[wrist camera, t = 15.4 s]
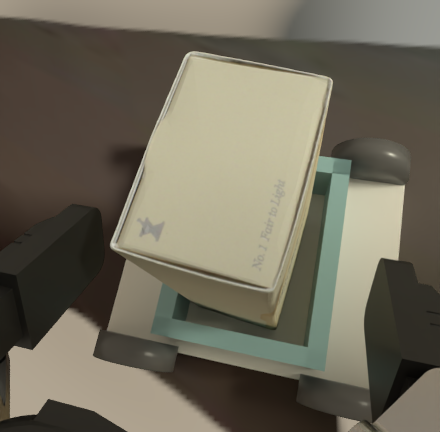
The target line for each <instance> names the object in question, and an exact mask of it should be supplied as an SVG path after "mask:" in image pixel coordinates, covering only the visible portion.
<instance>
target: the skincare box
mask: <svg viewBox="0 0 440 432" xmlns="http://www.w3.org/2000/svg"><path fill="white" fill-rule="evenodd" d="M332 84H333V82H332V79H331V78H329V77H326V76H321V75H316V74H312V73H306V72H301V71H296V70H292V69H287V68H281V67H277V66H272V65H266V64H262V63H255V62H251V61H246V60H241V59H235V58H229V57H223V56H218V55H213V54H208V53H202V52H195V51H193V52H189V53H188V54H186V55H185V57H184V59H183V62H182V64H181V66H180V69H179V71H178V74H177V76H176V78H175V81H174V83H173V85H172V87H171V90H170V93H169V95H168V97H167V100H166V102H165V104H164V107H163V109H162V112H161V114H160V117H159V119H158V121H157V124H156V126H155V128H154V131H153V133H152V135H151V138H150V140H149V143H148V146H147V148H146V151H145V154H144V156H143V159H142V162H141V164H140V167H139V169H138V172H137V174H136V177H135V180H134V183H133V185H132V188H131V190H130V193H129V196H128V198H127V201H126V203H125V206H124V209H123V212H122V214H121V216H120V219H119V222H118V225H117V228H116V230H115V232H114V235H113V237H112V240H111V243H110V248H111V249H112V250H113V251H115V252H117V253H118V254H120V255H121V256H123V257H124V258H126V259H127V260H129V261H131V262H132V263H134V264H135V265H137V266H138V267H140V268H141V269H143V270H144V271H146V272H147V273H149V274H150V275H152V276H153V277H155V278H156V279H158V280H159V281H161V282H162V283H164V284H165V285H167V286H169V287H170V288H172V289H173V290H175V291H176V292H178V293H179V294H181V295H182V296H184V297H185V298H187V299H188V300H190V301H191V302H193V303H194V304H196V305H197V306H199V307H202V308H205V309H207V310H210V311H213V312H216V313H219V314H222V315H225V316H228V317H231V318H234V319H237V320H240V321H243V322H247V323H250V324H253V325H257V326H260V327H264V328H267V329H271V330H276V328H277V325H278V322H279V318H280V315H281V312H282V308H283V305H284V301H285V298H286V295H287V291H288V288H289V284H290V281H291V277H292V274H293V270H294V266H295V263H296V259H297V255H298V251H299V248H300V244H301V240H302V236H303V232H304V229H305V225H306V220H307V216H308V211H309V206H310V201H311V196H312V190H313V185H314V180H315V174H316V169H317V164H318V159H319V153H320V148H321V143H322V137H323V132H324V126H325V121H326V116H327V110H328V105H329V100H330V95H331V90H332Z"/></svg>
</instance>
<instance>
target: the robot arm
mask: <svg viewBox="0 0 440 432" xmlns="http://www.w3.org/2000/svg"><path fill="white" fill-rule="evenodd" d="M103 261H104V241H103V230H102V219H101V213H100V211H99V209H97V208H94V207H88V206H82V205H76V204H72V205H70V206H68V207H67V208H66V209H65V210H63V211H62V212H61V213H60V214H58V215H57V216H56V217H52V218H50V219H47V220H45V221H42V222H40V223H38V224H36V225H34V226H33V227H32V228H30V229H29V230H28V231H26V232H25V233H24V235H21V236H20V237H19V238H17V239H16V240H15V241H14V243H11V244H9V245H8V246H7V247H5V248H4V249H3V250H2V251H0V432H127V431H125V430H124V429H122V428H120V427H119V426H117V425H115V424H114V423H112V422H110V421H109V420H107V419H106V418H104V417H102V416H100V415H99V414H97V413H96V412H94V411H91V410H87V409H84V408H80V407H76V406H72V405H69V404H65V403H61V402H57V401H54V400H50V399H48V400H47V402H46V403H45V405H44V406H43V407H42V409H41V410H40V411H39V413H38V414H37V415H27V416H19V417H14V418H10V359H9V355H8V351H10V349H11V348H12V347H13V346H18V347H22V348H27V349H31V350H33V349H34V347H35V346H36V345H37V344H38V343H39V342H40V340H41V339H42V338H43V337H44V336H45V335H46V333H47V332H48V331H49V330H50V329H51V328H52V326H53V325H54V324H55V323H56V322H57V321H58V319H59V318H60V317H61V316H62V315H63V314H64V312H65V311H66V310H67V309H68V308H69V307H70V305H71V304H72V303H73V302H74V301H75V300H76V298H77V297H78V296H79V295H80V294H81V293H82V291H83V290H84V289H85V288H86V287H87V286H88V284H89V283H90V282H91V281H92V280H93V279H94V277H95V276H96V275H97V274H98V273H99V271H100V269H101V267H102V265H103ZM364 334H365V345H366V357H367V368H368V379H369V390H370V402H371V413H372V424H371V423H369V422H368V421H367V420H362V421H360V422H359V423H357V424H356V425H355V426H354V427H353V428H352V429H351V430H350V431H348V432H440V295H439V294H438V293H437V292H436V291H435V289H434V288H433V287H432V286H430V285H424V284H419V283H418V281H417V278H416V274H415V271H414V267H413V264H412V263H410V262H404V261H398V260H392V259H386V258H381V259H380V260H379V263H378V265H377V269H376V272H375V276H374V279H373V283H372V286H371V290H370V293H369V297H368V300H367V304H366V308H365V315H364Z"/></svg>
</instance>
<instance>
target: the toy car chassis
mask: <svg viewBox="0 0 440 432" xmlns="http://www.w3.org/2000/svg"><path fill="white" fill-rule="evenodd" d="M410 162H411V154H410V152H409V150H408V149H407V148H405V147H404V146H402V145H401V144H399V143H396V142H393V141H390V140H385V139H379V138H357V139H351V140H347V141H344V142H342V143H340V144H338V145H337V146H335V147H334V149H333V150H332V155H331V158H330V157H323V156H319V159H318V164H317V169H316V174H315V180H314V185H313V190H312V196H311V201H310V206H309V211H308V216H307V220H306V225H305V229H304V232H303V236H302V240H301V244H300V248H299V251H298V255H297V259H296V263H295V266H294V270H293V274H292V277H291V281H290V284H289V288H288V291H287V295H286V298H285V301H284V305H283V308H282V312H281V315H280V318H279V322H278V325H277V328H276V330H271V329H267V328H264V327H260V326H257V325H253V324H250V323H247V322H243V321H240V320H237V319H234V318H231V317H228V316H225V315H222V314H219V313H216V312H213V311H210V310H207V309H205V308H202V307H199V306H197V305H196V304H194V303H193V302H191V301H190V300H188V299H187V298H185V297H184V296H182V295H181V294H179V293H178V292H176V291H175V290H173V289H172V288H170V287H169V286H167V285H165V284H164V283H162V282H161V281H159V280H158V279H156V278H155V277H153V276H152V275H150V274H149V273H147V272H146V271H144V270H143V269H141V268H140V267H138V266H137V265H135V264H134V263H132V262H131V261H129V260H127V259H126V262H125V266H124V269H123V273H122V277H121V280H120V284H119V288H118V292H117V295H116V299H115V303H114V306H113V310H112V314H111V317H110V321H109V325H108V328H107V330H100V332H99V335H98V339H97V343H96V346H95V350H94V354H93V356H94V357H96V358H99V359H102V360H105V361H109V362H112V363H116V364H120V365H125V366H129V367H134V368H139V369H145V370H151V371H159V372H173V370H174V366H175V361H176V357H177V353H182V354H186V355H190V356H195V357H199V358H204V359H208V360H213V361H217V362H221V363H226V364H230V365H235V366H239V367H244V368H248V369H252V370H257V371H261V372H266V373H270V374H275V375H279V376H283V377H288V378H292V379H297V380H299V385H298V392H297V399H296V402H298V403H300V404H302V405H304V406H307V407H309V408H312V409H315V410H318V411H322V412H325V413H329V414H332V415H336V416H340V417H344V418H348V419H352V420H357V421H362V420H367V421H368V422H369V423H372V413H371V402H370V390H369V379H368V368H367V357H366V345H365V334H364V315H365V308H366V304H367V300H368V297H369V293H370V290H371V286H372V283H373V279H374V276H375V272H376V269H377V265H378V263H379V260H380V259H381V258H386V259H392V260H398V256H399V245H400V233H401V222H402V211H403V199H404V188H405V184H406V183H407V182H408V180H409V174H410Z"/></svg>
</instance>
